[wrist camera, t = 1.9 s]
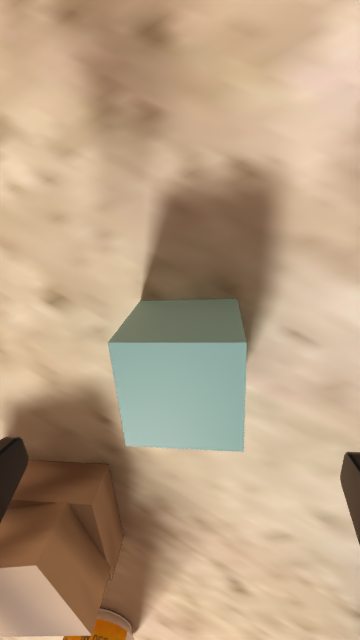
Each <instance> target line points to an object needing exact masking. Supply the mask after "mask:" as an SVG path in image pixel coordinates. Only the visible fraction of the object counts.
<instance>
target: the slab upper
mask: <svg viewBox="0 0 360 640" xmlns="http://www.w3.org/2000/svg"><path fill="white" fill-rule="evenodd" d="M110 570H111V566H110V565H109V563H108V562H107V560H106V559H105V557H104V556H103V554H102V553H101V551H100V550H99V548H98V547H97V545H96V544H95V542H94V541H93V539H92V538H91V536H90V535H89V533H88V532H87V530H86V528H85V527H84V525H83V524H82V522H81V521H80V519H79V518H78V516H77V515H76V513H75V512H74V510H73V509H72V507H71V506H70V504H69V503H68V501H66V502H59V503H52V504H44V505H37V506H29V507H22V508H14V509H7V511H6V513H5V515H4V517H3V519H2V521H1V523H0V637H12V636H92V634H93V630H94V627H95V623H96V620H97V616H98V613H99V609H100V606H101V602H102V598H103V595H104V591H105V588H106V584H107V581H108V577H109V574H110Z"/></svg>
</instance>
